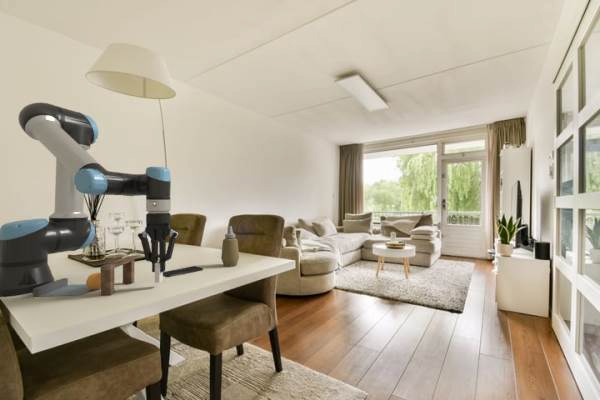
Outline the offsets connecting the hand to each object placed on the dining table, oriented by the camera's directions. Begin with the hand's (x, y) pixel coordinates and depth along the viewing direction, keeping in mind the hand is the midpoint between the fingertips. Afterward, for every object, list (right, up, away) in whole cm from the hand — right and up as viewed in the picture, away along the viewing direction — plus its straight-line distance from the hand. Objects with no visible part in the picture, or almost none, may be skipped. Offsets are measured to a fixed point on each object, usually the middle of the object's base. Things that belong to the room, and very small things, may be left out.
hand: (158, 281), depth 95 cm
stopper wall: (-34, -2, -3) cm, 34 cm away
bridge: (-13, -2, -1) cm, 13 cm away
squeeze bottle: (+16, -2, +32) cm, 36 cm away
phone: (-1, -3, +21) cm, 21 cm away
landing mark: (-27, -2, -2) cm, 27 cm away
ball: (-20, +1, -2) cm, 20 cm away
